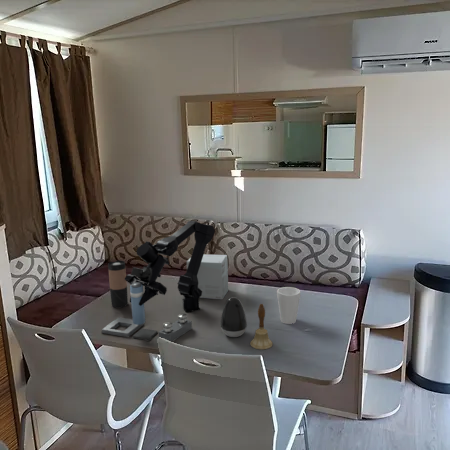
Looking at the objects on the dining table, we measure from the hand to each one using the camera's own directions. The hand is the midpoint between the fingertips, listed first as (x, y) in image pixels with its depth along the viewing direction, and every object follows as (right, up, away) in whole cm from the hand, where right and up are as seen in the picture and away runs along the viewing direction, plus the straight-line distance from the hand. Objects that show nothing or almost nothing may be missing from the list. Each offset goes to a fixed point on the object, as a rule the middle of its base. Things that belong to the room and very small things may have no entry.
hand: (135, 303), depth 174 cm
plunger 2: (+18, -10, +7) cm, 22 cm away
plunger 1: (+13, -12, -1) cm, 17 cm away
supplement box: (+27, -3, +45) cm, 52 cm away
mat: (+3, -13, +3) cm, 14 cm away
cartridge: (+1, -8, +3) cm, 8 cm away
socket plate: (-7, -12, +9) cm, 16 cm away
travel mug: (-14, -6, +34) cm, 37 cm away
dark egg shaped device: (+38, -13, +2) cm, 40 cm away
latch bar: (+15, -12, +4) cm, 20 cm away
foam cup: (+61, -10, +13) cm, 63 cm away
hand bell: (+48, -14, -6) cm, 51 cm away
